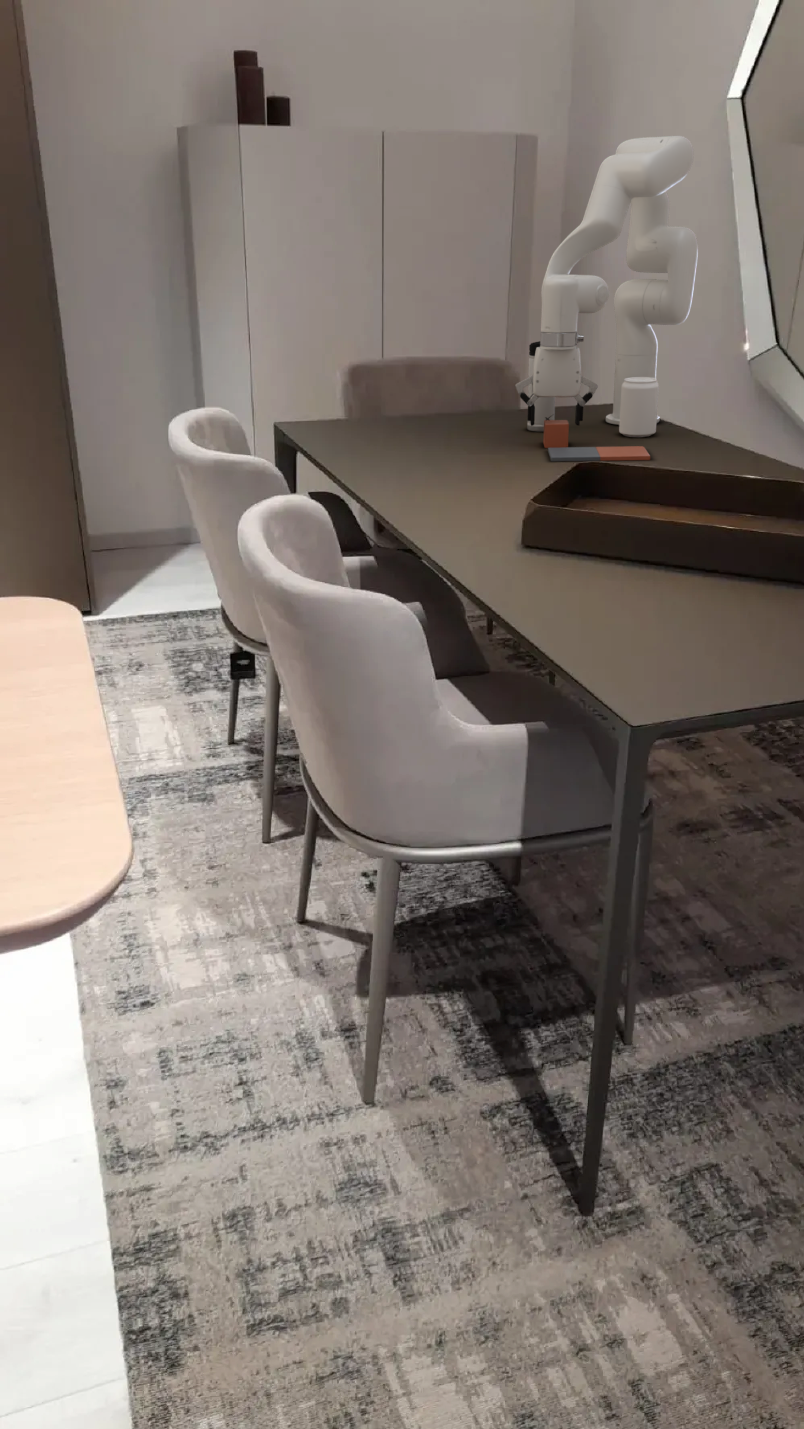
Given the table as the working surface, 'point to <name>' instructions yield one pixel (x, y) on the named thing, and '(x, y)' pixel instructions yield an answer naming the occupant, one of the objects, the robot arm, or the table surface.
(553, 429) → the terracotta block
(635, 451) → the sorting board
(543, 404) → the travel mug
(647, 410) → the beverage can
